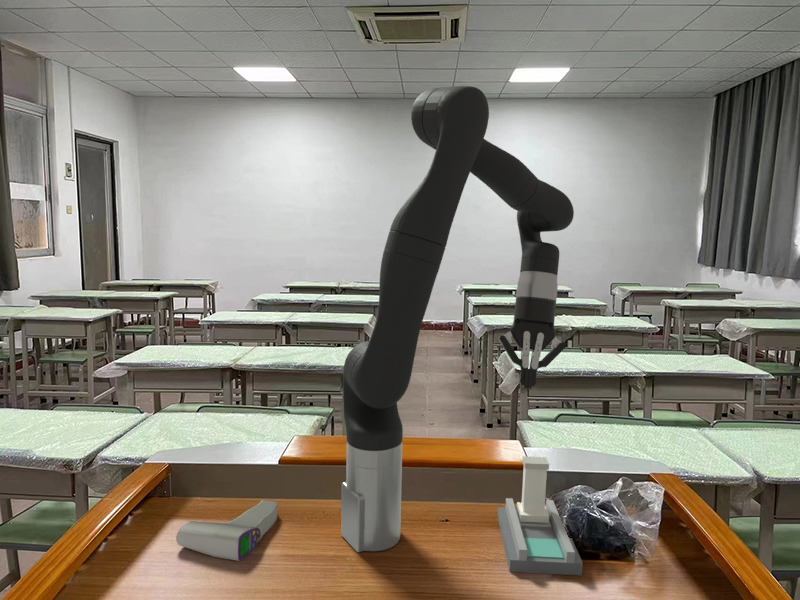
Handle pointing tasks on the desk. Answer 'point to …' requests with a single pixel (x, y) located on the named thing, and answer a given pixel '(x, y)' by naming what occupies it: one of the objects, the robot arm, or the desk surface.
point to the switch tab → (534, 490)
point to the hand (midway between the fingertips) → (526, 388)
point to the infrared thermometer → (230, 533)
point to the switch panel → (537, 543)
